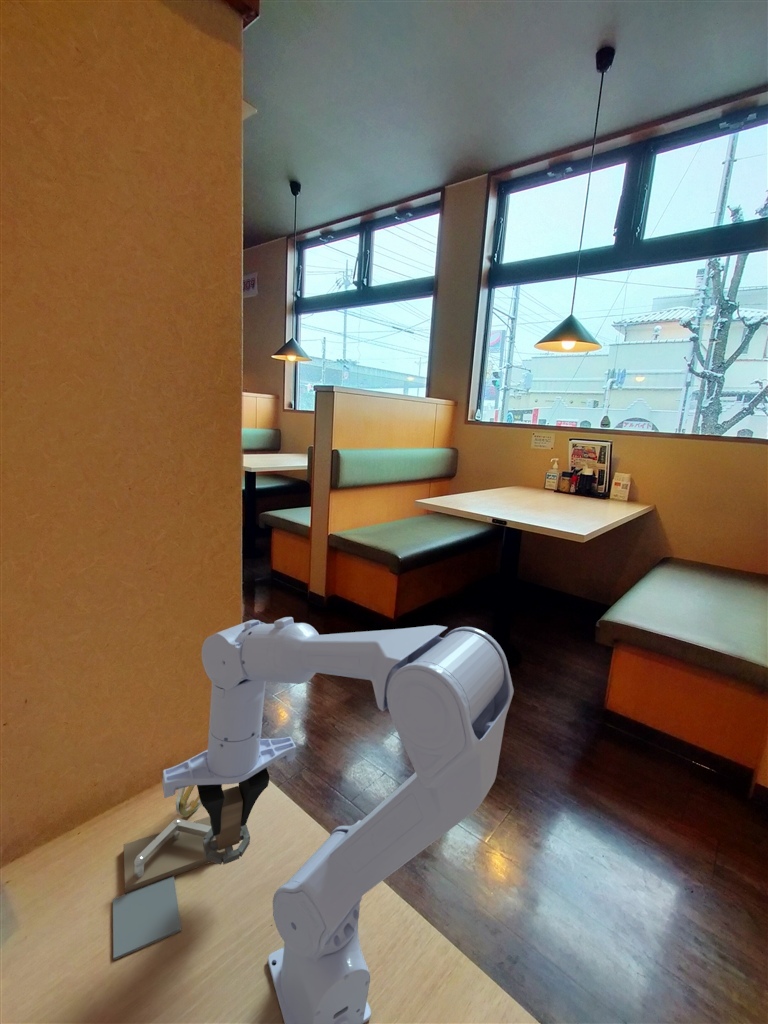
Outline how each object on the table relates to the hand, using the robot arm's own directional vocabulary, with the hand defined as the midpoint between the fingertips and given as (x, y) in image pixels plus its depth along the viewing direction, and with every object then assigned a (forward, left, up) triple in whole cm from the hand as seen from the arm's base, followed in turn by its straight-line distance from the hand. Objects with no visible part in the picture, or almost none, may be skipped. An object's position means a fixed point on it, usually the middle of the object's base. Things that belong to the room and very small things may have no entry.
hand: (228, 823), depth 54 cm
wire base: (+7, +4, -9) cm, 12 cm away
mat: (0, +8, -9) cm, 13 cm away
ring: (+13, +1, -10) cm, 16 cm away
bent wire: (+7, +4, -9) cm, 12 cm away
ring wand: (0, 0, -3) cm, 3 cm away
